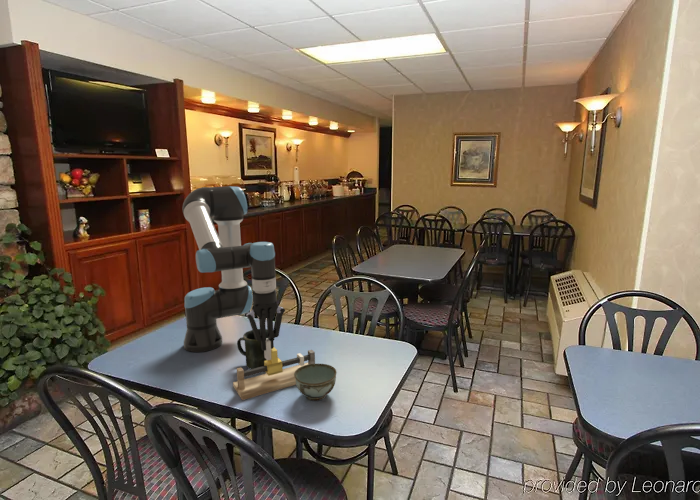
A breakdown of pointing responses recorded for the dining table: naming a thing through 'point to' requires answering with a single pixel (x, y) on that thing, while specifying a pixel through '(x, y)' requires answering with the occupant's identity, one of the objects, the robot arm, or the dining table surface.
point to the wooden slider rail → (267, 380)
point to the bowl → (315, 380)
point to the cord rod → (284, 363)
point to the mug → (252, 350)
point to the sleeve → (273, 363)
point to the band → (301, 359)
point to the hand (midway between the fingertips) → (268, 358)
